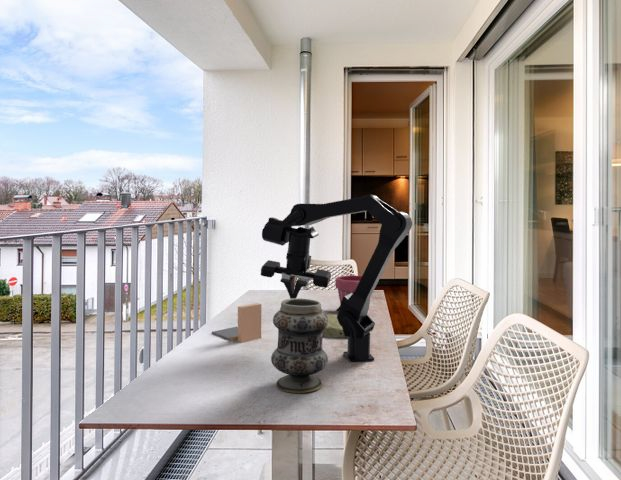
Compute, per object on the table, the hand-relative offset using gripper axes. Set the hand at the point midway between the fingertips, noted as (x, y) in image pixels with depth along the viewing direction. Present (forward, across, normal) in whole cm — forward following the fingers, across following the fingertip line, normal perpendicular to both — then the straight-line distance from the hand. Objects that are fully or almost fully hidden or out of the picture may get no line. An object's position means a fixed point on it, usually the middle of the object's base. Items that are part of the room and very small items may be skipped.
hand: (293, 301), depth 124 cm
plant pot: (+20, -15, -39) cm, 47 cm away
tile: (+13, +11, +3) cm, 17 cm away
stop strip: (+14, +13, +2) cm, 19 cm away
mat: (+15, +17, -1) cm, 23 cm away
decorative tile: (+15, -10, -14) cm, 23 cm away
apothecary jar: (+4, -10, +31) cm, 33 cm away
